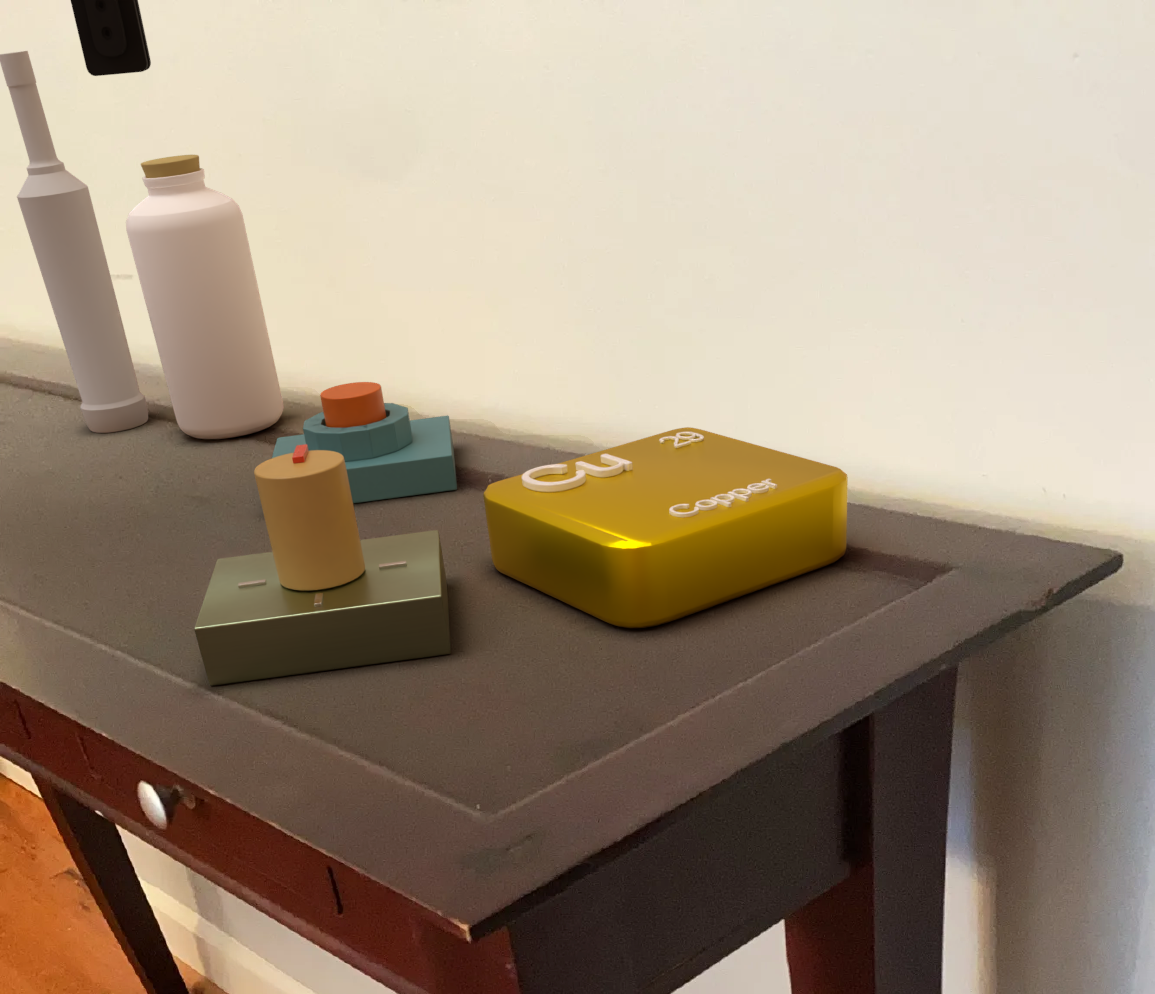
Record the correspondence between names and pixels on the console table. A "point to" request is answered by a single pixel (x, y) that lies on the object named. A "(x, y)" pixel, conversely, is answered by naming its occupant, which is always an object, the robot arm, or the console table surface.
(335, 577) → the knob
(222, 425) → the potion bottle
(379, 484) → the button base
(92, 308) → the bottle
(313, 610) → the panel
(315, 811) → the console table surface
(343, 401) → the button
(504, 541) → the element tile
